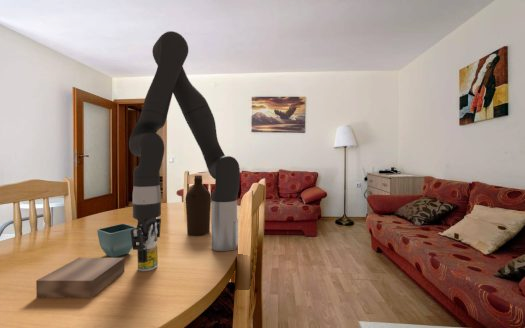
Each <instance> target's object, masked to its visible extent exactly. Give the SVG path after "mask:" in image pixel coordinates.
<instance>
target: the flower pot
mask: <svg viewBox="0 0 525 328" xmlns="http://www.w3.org/2000/svg"><path fill="white" fill-rule="evenodd" d="M136 228H137V226H135V225H130V224H127V223H120V224H119V223H118V224H114V225H111V226H107V227H103V228H101V227H100V228H98V229H96V232H97V237H98V242H99V246H100V248H101V249H102V251H103V252H104V254H105V255H106V256H108V257H110V258H119V257H121V256H124V255H127V254H129V253H130V252H131V251H132V250H133V247H132V239H131V230H132V229H136Z"/></svg>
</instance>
